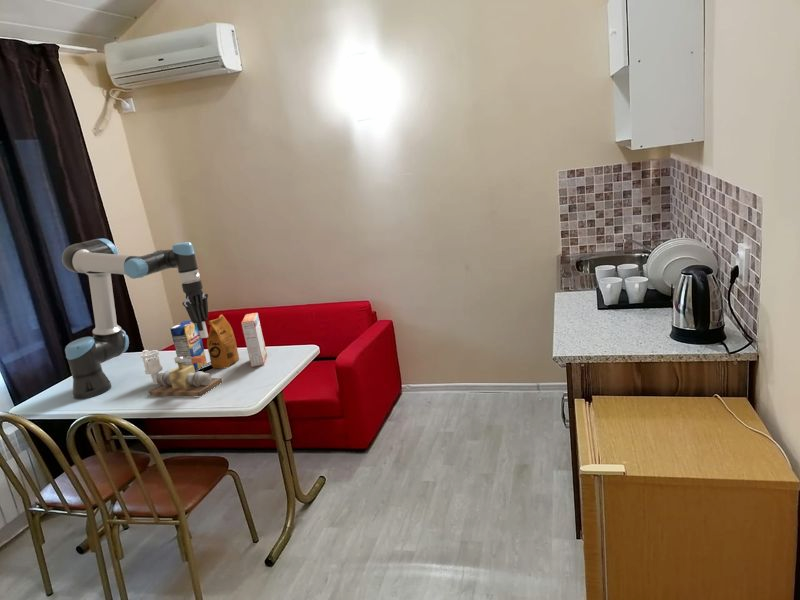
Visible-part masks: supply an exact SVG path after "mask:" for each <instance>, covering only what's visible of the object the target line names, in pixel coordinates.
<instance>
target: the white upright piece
mask: <svg viewBox="0 0 800 600" xmlns="http://www.w3.org/2000/svg"><path fill="white" fill-rule="evenodd" d="M140 358H141V359H142V361H143V365H144V368H145V370H144V373H145V374H146V375H151V380H152V383H153V385H154V384H155V385H159V384H158V383H157V376H158V374H159V373H161V372H162V371H163V370H164V368H163V366H162V365H161V363H160V358H159V350H157V349H153V350H148V349H144V350H142V353H141V354H140Z"/></svg>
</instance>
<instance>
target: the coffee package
mask: <svg viewBox="0 0 800 600" xmlns="http://www.w3.org/2000/svg"><path fill="white" fill-rule="evenodd" d="M207 324H208V325H209V326H210V327H209V333H208V336H209V337H207V338H206V339H207V340H206V347H207V351H208V354H209V360H210V365H211V367H212V368H213V369H227V368H226V367H228V366H229V367H230V366H231V365H233V363H234V364H236V363H237V362H238V361H239V360H240V356H239V351H238V346H237V341H236V337H235V334H234V330H233V327H232V326H231V324H230V322H229V321H228V320H227V319H226V317H225V316H224V315H223V314H220V315H219V316H218V318H216V319H212V320H211V319H210V320H207ZM238 359H239V360H238ZM236 361H237V362H236ZM235 362H236V363H235ZM229 367H228V368H229Z"/></svg>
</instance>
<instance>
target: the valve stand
mask: <svg viewBox="0 0 800 600" xmlns="http://www.w3.org/2000/svg"><path fill="white" fill-rule="evenodd" d="M158 373H159V374H158V376H157V383H158V384H157V386H155V387H154V388H152V389H150V390H149V391H148V394H149V397H179V396H201V397H202V395H203V394H204V395H206V394H207V393H209V392H210V391H212V390H214V389H215V388H217V387H218V386H219V384H220V383H221V384H223V383H222V382H223V379H222V377H212V374H210V373H209V372H204V371H203V370H202V371H197V372H196V373H195V369H194V366H183V365H182V362H181V363H177V367H176V368H174V369H172V370H169V371H168V370H167V371H165V372H158ZM221 384H220V385H221ZM217 385H218V386H217ZM216 386H217V387H216ZM214 387H215V388H214ZM213 388H214V389H213ZM211 389H212V390H211ZM208 391H209V392H208ZM206 392H207V393H206ZM205 393H206V394H205ZM204 395H203V396H204Z"/></svg>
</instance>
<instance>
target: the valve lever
mask: <svg viewBox="0 0 800 600" xmlns="http://www.w3.org/2000/svg"><path fill="white" fill-rule="evenodd" d="M205 356H206V355H205ZM205 356H194V357H183V356H178V357H177V356H175V357H174V363H175V364H178V363H181V362H192V363H203V362H205V361H207V356H206V357H205Z"/></svg>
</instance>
